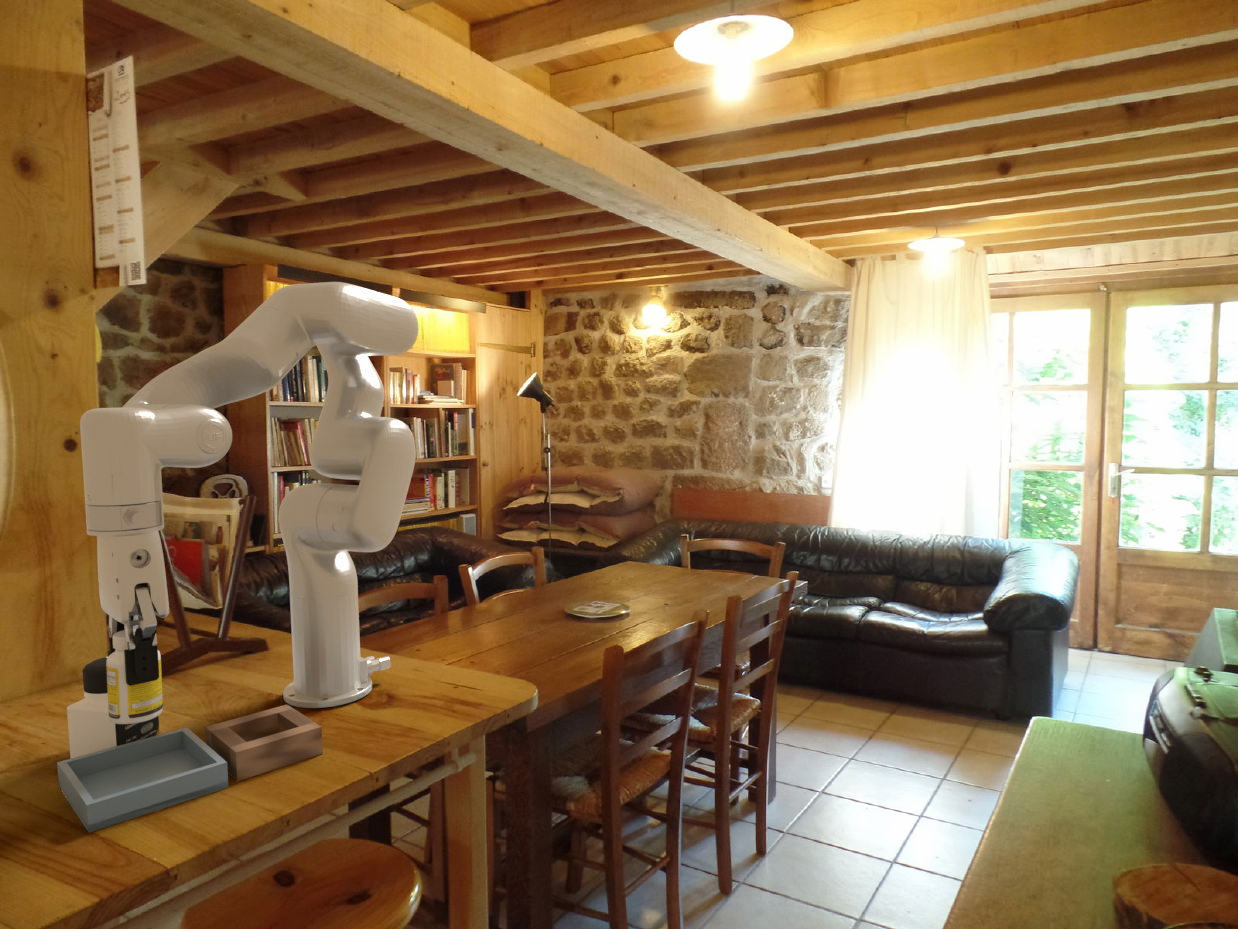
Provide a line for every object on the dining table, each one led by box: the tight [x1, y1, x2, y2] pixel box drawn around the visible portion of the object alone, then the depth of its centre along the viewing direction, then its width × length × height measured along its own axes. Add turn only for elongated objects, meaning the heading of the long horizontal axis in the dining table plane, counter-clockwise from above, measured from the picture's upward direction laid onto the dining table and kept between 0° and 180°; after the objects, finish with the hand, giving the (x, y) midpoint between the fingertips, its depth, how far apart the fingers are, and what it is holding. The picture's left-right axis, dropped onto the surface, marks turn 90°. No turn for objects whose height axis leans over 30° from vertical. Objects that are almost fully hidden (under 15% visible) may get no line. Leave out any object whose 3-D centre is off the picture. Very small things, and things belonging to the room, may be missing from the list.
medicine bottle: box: [66, 656, 161, 759], centre depth 107 cm, size 7×7×12 cm
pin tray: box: [56, 726, 229, 834], centre depth 98 cm, size 14×14×3 cm
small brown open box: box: [204, 704, 324, 782], centre depth 106 cm, size 10×10×4 cm
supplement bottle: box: [106, 627, 164, 724], centre depth 96 cm, size 5×5×10 cm
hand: (134, 673), depth 96 cm, fingers closed on supplement bottle, 5 cm apart
